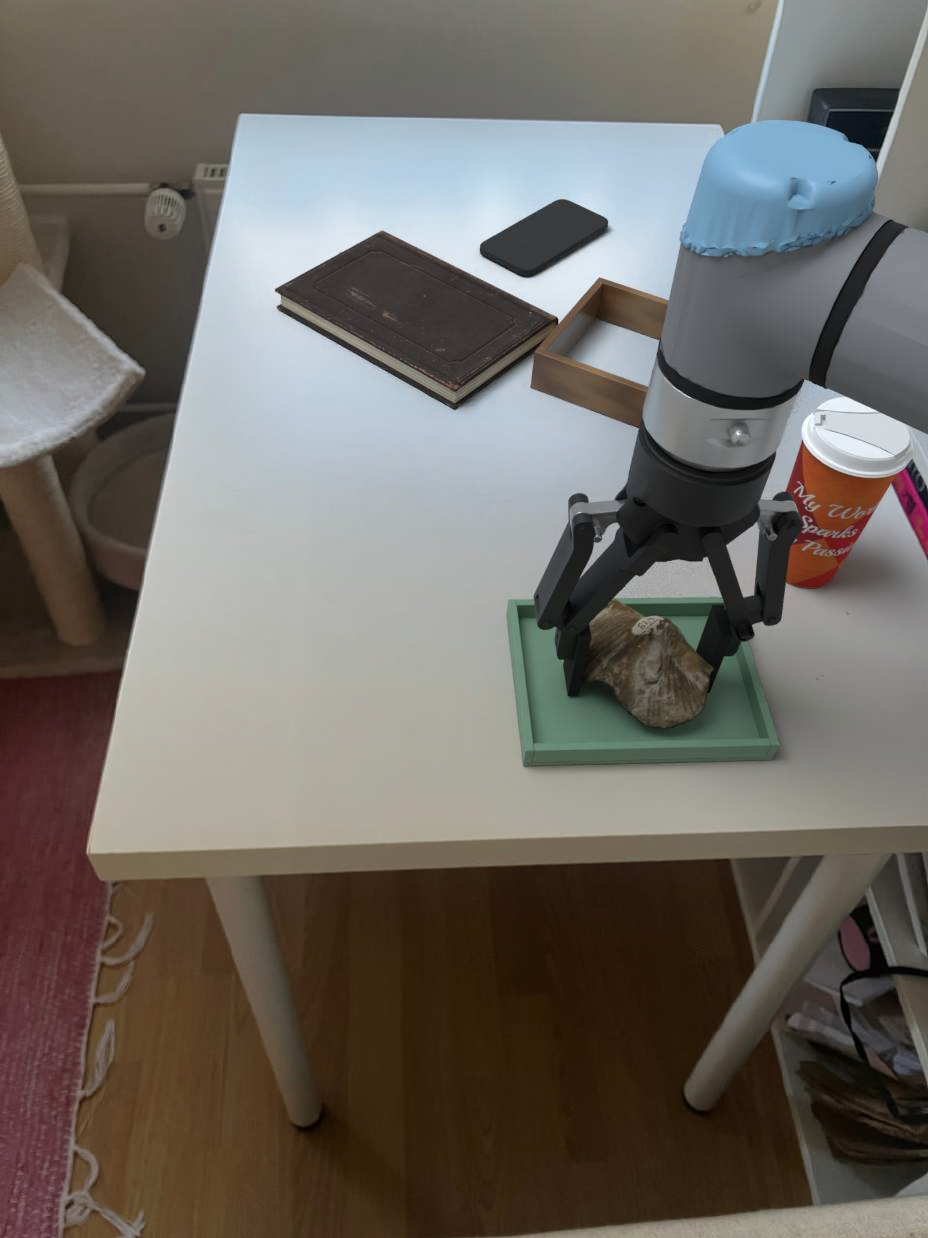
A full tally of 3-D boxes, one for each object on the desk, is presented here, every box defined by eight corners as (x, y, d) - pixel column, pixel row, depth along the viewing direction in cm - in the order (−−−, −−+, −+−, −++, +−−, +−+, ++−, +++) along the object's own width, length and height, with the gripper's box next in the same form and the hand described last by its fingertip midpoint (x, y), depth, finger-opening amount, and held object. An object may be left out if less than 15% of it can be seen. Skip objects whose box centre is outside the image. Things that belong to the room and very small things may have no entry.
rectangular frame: (778, 375, 97) (790, 340, 94) (728, 461, 88) (740, 425, 85) (593, 312, 102) (599, 276, 99) (529, 387, 94) (534, 351, 91)
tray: (728, 612, 77) (734, 596, 76) (772, 760, 69) (780, 745, 67) (506, 615, 76) (508, 599, 74) (522, 766, 67) (525, 750, 66)
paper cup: (750, 587, 79) (805, 450, 68) (755, 520, 84) (808, 383, 73) (851, 608, 78) (923, 473, 67) (850, 540, 83) (918, 403, 72)
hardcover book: (453, 409, 91) (455, 388, 89) (276, 308, 100) (274, 288, 98) (557, 334, 99) (560, 314, 98) (385, 247, 108) (385, 227, 106)
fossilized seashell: (740, 688, 69) (650, 607, 75) (711, 647, 64) (618, 563, 70) (660, 763, 69) (577, 676, 76) (625, 728, 64) (540, 637, 71)
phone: (474, 245, 108) (561, 196, 115) (474, 252, 108) (560, 203, 116) (528, 272, 105) (613, 220, 112) (527, 279, 105) (612, 227, 113)
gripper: (519, 479, 51) (490, 726, 68) (925, 477, 53) (796, 719, 70) (506, 387, 56) (482, 640, 73) (879, 388, 57) (768, 635, 75)
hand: (635, 679), depth 72 cm, fingers closed on fossilized seashell, 9 cm apart
